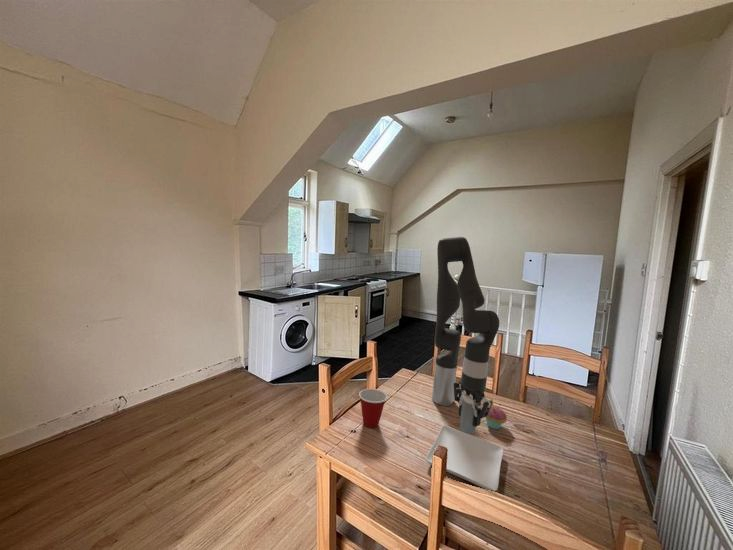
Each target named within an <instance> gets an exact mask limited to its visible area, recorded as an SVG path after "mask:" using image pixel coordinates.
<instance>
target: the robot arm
mask: <svg viewBox="0 0 733 550" xmlns="http://www.w3.org/2000/svg"><path fill="white" fill-rule="evenodd" d="M436 249H437V275H438V276H437V289H436V323H435V333H434V346H435V347H436V348H437V349H441V350H445V351H448V353H442V354H441V353H440V354H438V355H436V357H435V366H434V376H433V385H432V392H431V393H432V395H431V400H432V401H433V403H435V404H437V405H438V406H442V407H449V406H451V405H453V403H454V402H457V403H458V406H459V407H458V416H459V417H460V418H461V410H462V401H463V394H464V395H469V396H470V399H472V400H473V405H472V409H474V417H473V426H474V427H476V428H477V427H479V426H480V425H481V420H482V419H483V418H486V417H487V416H488V413H489V411H490V409H491V406H492V404H493V405H494V401H493V402H492V401H491V399H490V400H488V399H487V398H486V396H485V390H486V387H487V380H488V374H489V373H488V372H489V357H490V349H491V347H492V344H493V343H494V341H495V338H496V336H497V333H498V331H499V329H500V318H499V316H498V314H497V313H496V312H495V311H493V310H487V309H486V310H483V309H482V310H481V309H479V308H481V307H482V306H484V304H485V297H484V294H483V292H482V289H481V286H480V285H479V281H478V277H477V275H476V269H475V265H474V260H473V256H472V251H471V247H470V244H469V242H468V240H467V238H465V237H463V236H456V237H444V238H443V237H442V238H440V239H439V240H438V242H437V248H436ZM454 262H456V263H457V262H461V263H462V269H461V272H460V274H459V277H458V279H457V282H456V280H454V278H453V277H452V275H451V273H450V271H449V267H448V265H449V263H454ZM460 304H462V325H463V328H464V329H465V331H467V332H468V333H470V334H478V335H477V336H474V337H471V338H469V339H468V340H466V343H465V351H464V357H463V361H462V368H461V369H462V370H461V378H460V381H457V380H456V379H457V378H456V377H457V368H458V362H459V361H458V360H459V351H460V346H461V341H462V334H461V331H460V330H457V329H453V328H452V329H451V328H447V327H444V326H445V325H446V323H447V322H448V321H449V319H450V318H451V317H453V315H455V313H457V311H458V310H459V308H460V306H461V305H460ZM478 309H479V310H478ZM474 400H475V401H474ZM479 402H480V403H479ZM475 403H476V404H477V403H479V405H478V406H476V404H475ZM477 409H478V410H477Z"/></svg>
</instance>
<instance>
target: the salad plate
mask: <svg viewBox="0 0 733 550" xmlns="http://www.w3.org/2000/svg"><path fill="white" fill-rule="evenodd" d="M438 445H442V446H445V447H447V449H448V460H447V471H446V472H447V473H450V474H452V475H454V476H455V477H458V478H461V479H463V480H466V481H467V482H469V483H472V484H474V485H476V486H478V487H480V488H482V489H484V490H486V489H487V490H486V491H489V490H492V491H491V492H496V491H498V489H499V482H500V475H501V474H500V473H501V465H502V459H503V457H504V447H502V446H500V445H498V444H496V443H493V442H491V441H487V440H485V439H482V438H480V437H478V436H475V435H473V434H469V433H466V432H464V431H462V430H460V429H456V428H453V427H451V426H449V425H447V424H443V425H441V427H440V429H439V432H438V434H437V436H436V438H435V440H434V442H433V444H432V446H431V447H430V449H429V451H428V452H427V454H426V456H425V461H426V462H427V463H428V464H429V465H431V464H432V456H433V452H434V451H435V448H436V447H437V446H438Z"/></svg>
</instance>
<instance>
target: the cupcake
mask: <svg viewBox="0 0 733 550" xmlns="http://www.w3.org/2000/svg"><path fill="white" fill-rule="evenodd" d="M490 400H491V401H492V402H493V404H492V406H491V409H490V411H489V413H488V416H487V417H485V420H486V424H487V426H488V427H489V428H490V429H494V430H498V429H500V427H502V424H505V423H506V422H507V419H508V417H507V414H506V412H505V411H504V410H503V409H502V408H499V407H498V406H494V397H493V396H491V398H490Z"/></svg>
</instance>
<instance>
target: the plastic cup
mask: <svg viewBox="0 0 733 550" xmlns="http://www.w3.org/2000/svg"><path fill="white" fill-rule="evenodd" d="M358 396H359V398H360V399H359V400H360V406H361V416H362V423H363V426H365V427H366V428H368V429H375V428H377V427H378V426H379V425H380V420H381V417H382V413H383V410H384V407H385V403H386V401H387V399H388V395H387V393H385V392H384V391H382V390H380V389H375V388H365V389H362V390H361V391H359V393H358Z"/></svg>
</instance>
